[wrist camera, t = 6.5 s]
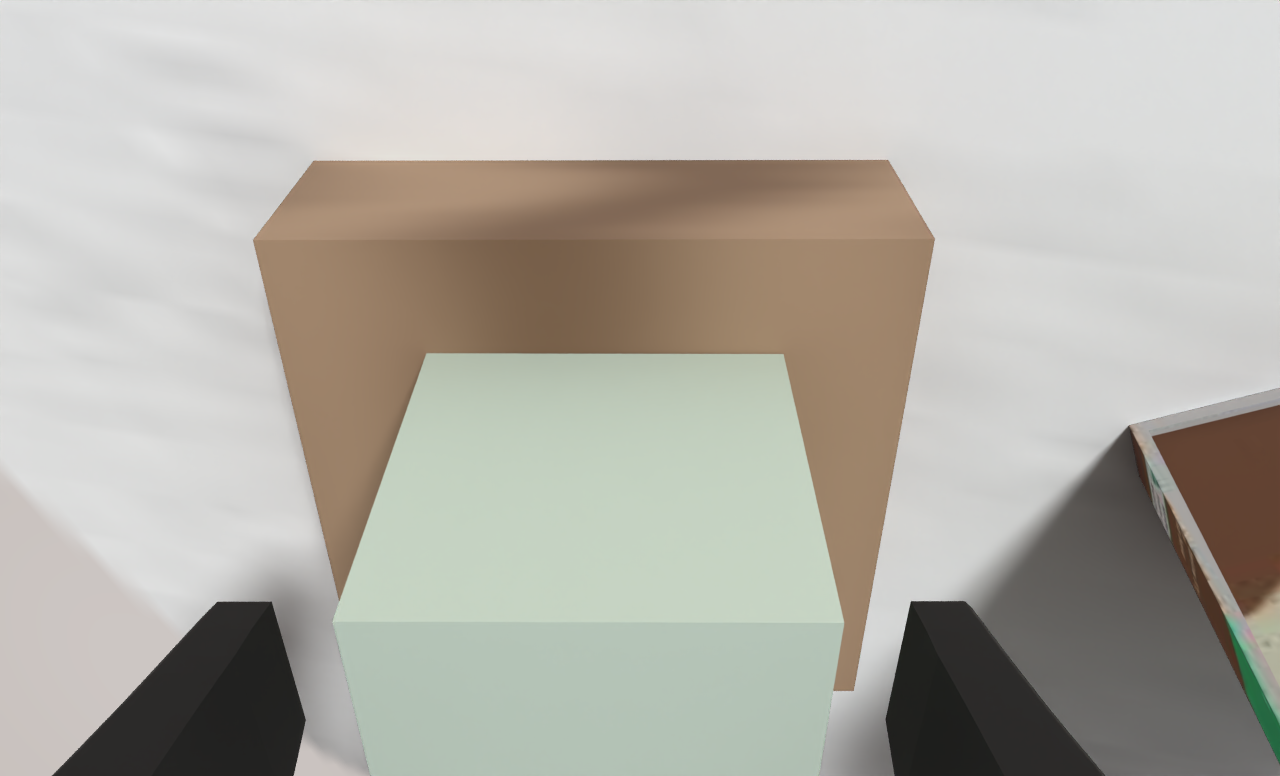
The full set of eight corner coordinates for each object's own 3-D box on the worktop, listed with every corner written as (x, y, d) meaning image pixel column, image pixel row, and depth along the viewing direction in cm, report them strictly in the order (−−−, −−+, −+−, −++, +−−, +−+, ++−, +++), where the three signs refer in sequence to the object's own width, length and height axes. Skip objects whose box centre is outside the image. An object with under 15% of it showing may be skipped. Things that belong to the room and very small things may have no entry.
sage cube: (783, 354, 12) (843, 622, 9) (758, 607, 15) (798, 900, 11) (426, 353, 12) (332, 621, 9) (461, 606, 15) (400, 899, 11)
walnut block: (882, 149, 14) (934, 239, 12) (824, 561, 18) (853, 690, 16) (322, 150, 14) (252, 240, 12) (398, 562, 18) (360, 692, 16)
